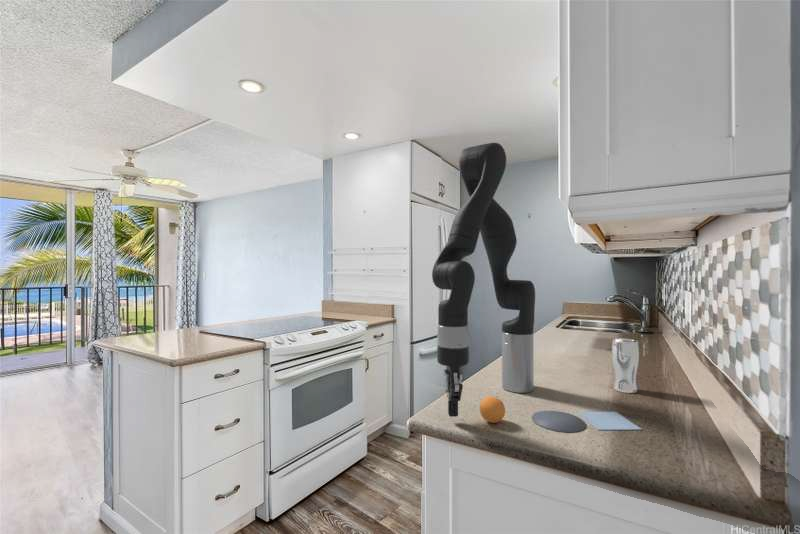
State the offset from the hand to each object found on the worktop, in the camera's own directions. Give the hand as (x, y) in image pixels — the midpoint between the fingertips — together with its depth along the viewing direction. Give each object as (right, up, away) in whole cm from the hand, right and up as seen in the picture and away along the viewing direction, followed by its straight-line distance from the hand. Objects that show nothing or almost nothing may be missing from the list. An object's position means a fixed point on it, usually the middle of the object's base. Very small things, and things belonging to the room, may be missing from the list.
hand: (453, 415), depth 89 cm
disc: (+26, -2, 0) cm, 26 cm away
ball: (+9, +1, 0) cm, 10 cm away
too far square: (+38, -2, 0) cm, 38 cm away
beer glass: (+55, -2, +22) cm, 60 cm away
